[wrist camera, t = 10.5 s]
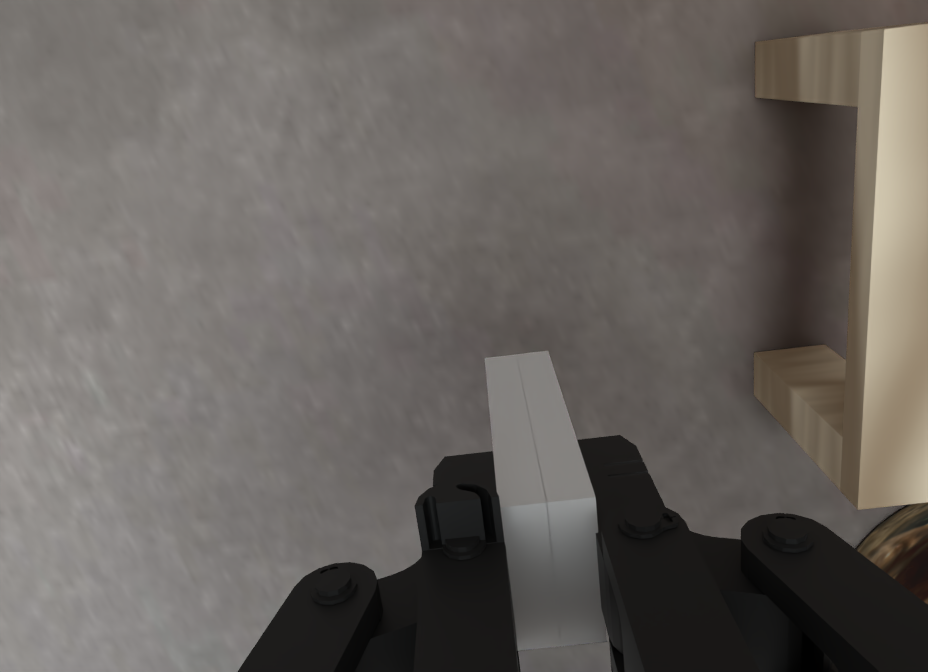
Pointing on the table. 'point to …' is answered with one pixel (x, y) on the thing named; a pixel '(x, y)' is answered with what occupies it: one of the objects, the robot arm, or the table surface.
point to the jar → (902, 548)
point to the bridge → (865, 268)
